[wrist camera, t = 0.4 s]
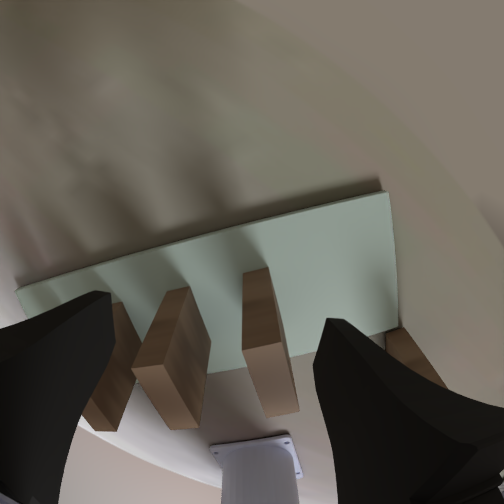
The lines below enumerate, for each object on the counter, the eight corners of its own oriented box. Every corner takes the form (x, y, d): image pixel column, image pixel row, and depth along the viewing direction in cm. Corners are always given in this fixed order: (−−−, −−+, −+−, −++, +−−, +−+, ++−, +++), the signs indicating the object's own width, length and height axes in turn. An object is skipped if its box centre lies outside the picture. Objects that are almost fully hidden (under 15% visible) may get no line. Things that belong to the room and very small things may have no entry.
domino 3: (283, 326, 20) (299, 411, 13) (260, 331, 20) (266, 418, 13) (268, 266, 19) (281, 341, 12) (242, 273, 19) (241, 350, 12)
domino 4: (402, 367, 23) (439, 431, 16) (385, 373, 23) (419, 439, 16) (404, 327, 22) (450, 391, 14) (385, 333, 22) (428, 401, 15)
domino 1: (147, 352, 21) (116, 431, 14) (129, 355, 21) (95, 431, 14) (122, 301, 20) (74, 374, 12) (103, 305, 20) (53, 375, 13)
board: (395, 322, 21) (398, 326, 21) (72, 383, 23) (70, 387, 23) (384, 190, 18) (388, 191, 17) (18, 288, 20) (14, 291, 19)
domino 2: (211, 341, 21) (199, 427, 14) (189, 345, 21) (170, 429, 14) (189, 285, 19) (162, 364, 12) (166, 291, 19) (130, 368, 12)
